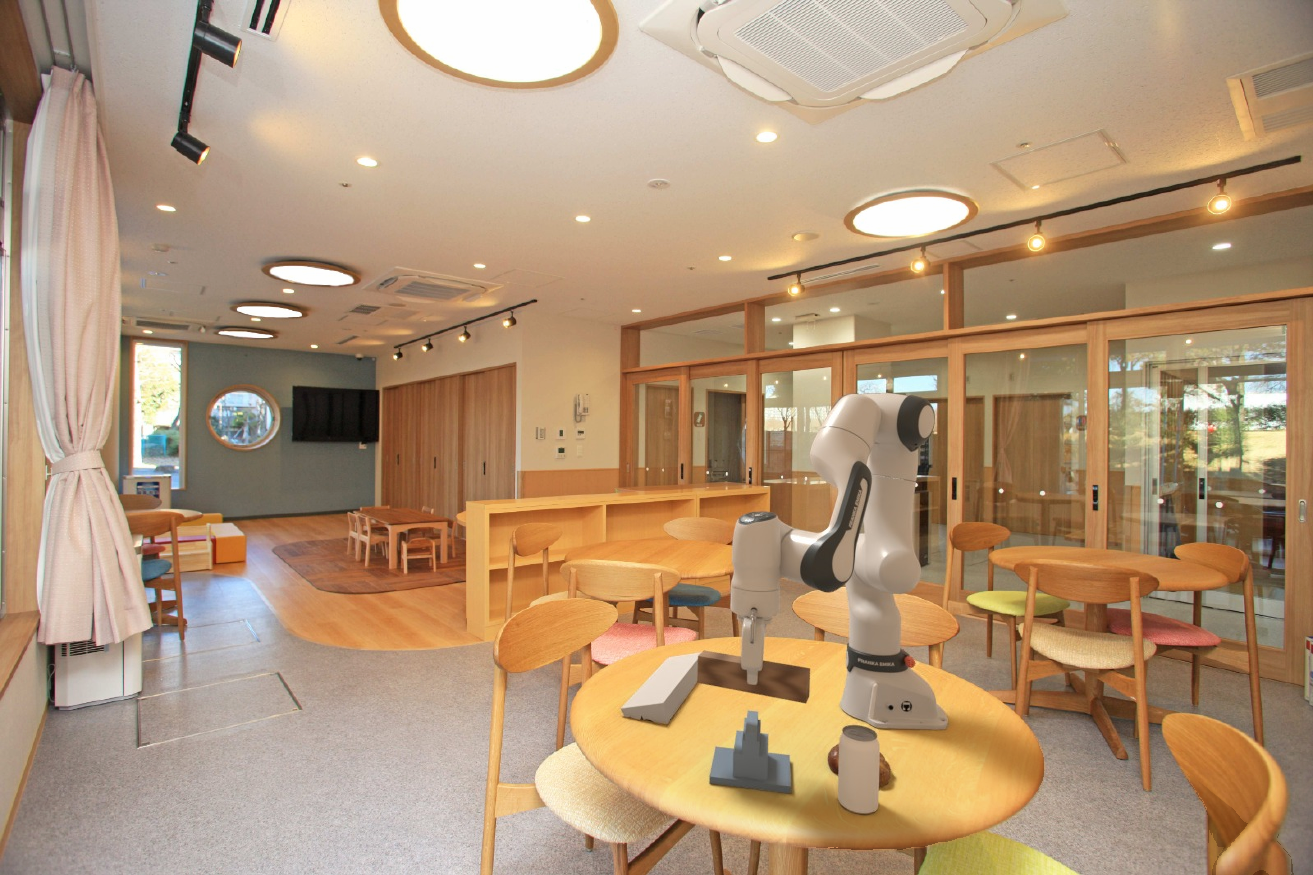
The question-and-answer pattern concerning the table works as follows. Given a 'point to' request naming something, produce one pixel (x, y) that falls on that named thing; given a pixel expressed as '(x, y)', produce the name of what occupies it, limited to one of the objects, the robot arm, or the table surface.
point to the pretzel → (883, 765)
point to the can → (858, 769)
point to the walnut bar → (770, 679)
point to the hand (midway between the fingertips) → (752, 677)
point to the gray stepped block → (751, 761)
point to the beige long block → (664, 690)
